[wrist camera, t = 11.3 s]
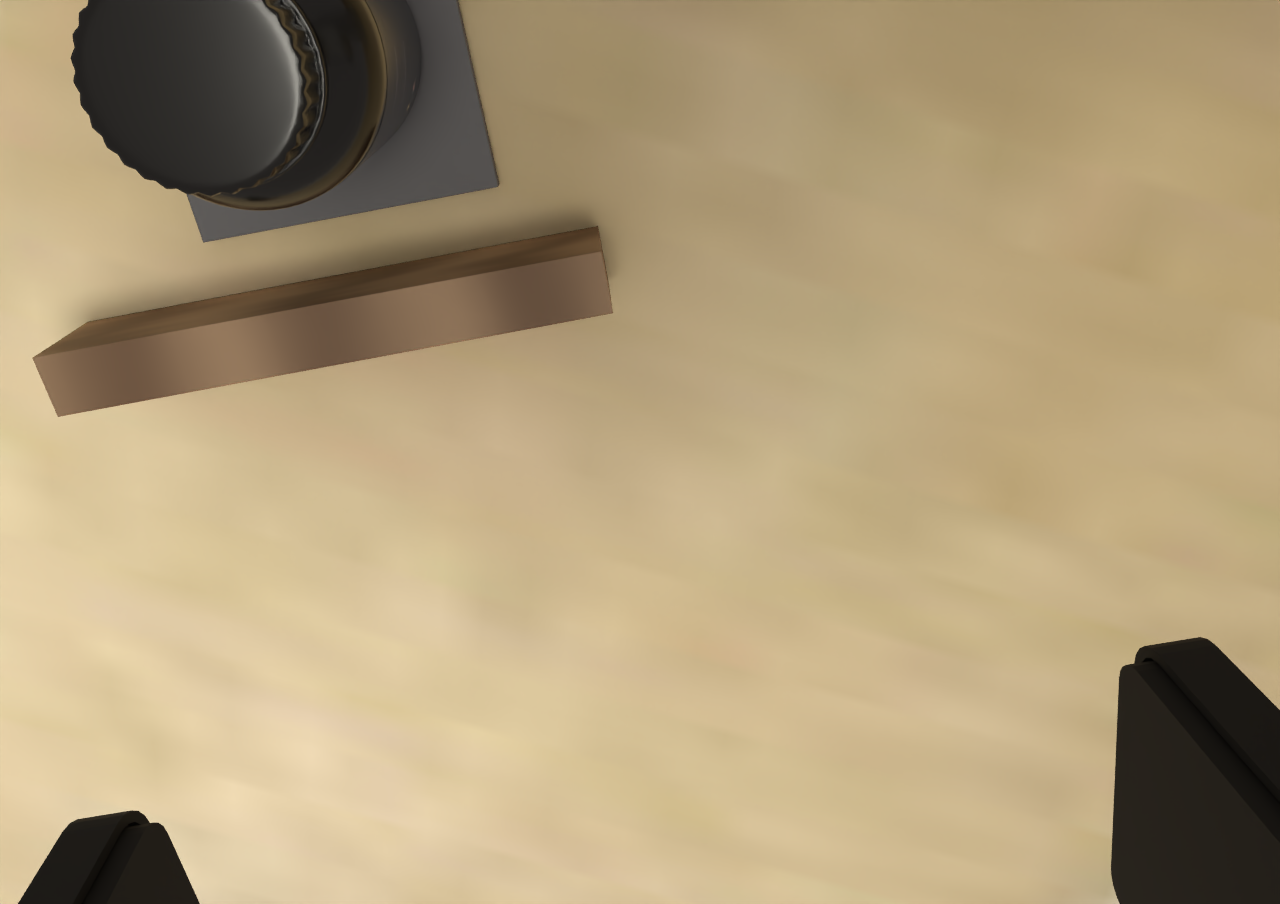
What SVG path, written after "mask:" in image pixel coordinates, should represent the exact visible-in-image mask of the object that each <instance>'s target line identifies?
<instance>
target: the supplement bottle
mask: <svg viewBox="0 0 1280 904" xmlns="http://www.w3.org/2000/svg"><path fill="white" fill-rule="evenodd" d="M73 42H74V46H75V48H74V50H73V53H72V56H71V61H72V64H73V66H74V69H75V75H74V84H75V86H76V88H77V89H78V91H79V92H80V102H81V106H82V107H83V109H84V110H85V111H86V112H87V114H88V115H89V116H90V122H91V125H92V128H93V129H94V130H95V131H96V132H98V133H99V134H100V135H101V136H102V137H103V139H104V142H105V144H106V146H107V148H108V149H110V150H111V151H113V152H115V153H116V154H118V155H119V157H120V159H121V161H122V162H123V163H124V165H126V166H128V167H130V168H133V169H136V170H137V171H138V173H139V174H140V175H141V176H142V177H143V178H144V179H148V180H154V181H157V182H158V183H159V184H160V185H162V186H163V187H165V188H166V189H175V188H176V189H179V190H181V191H182V192H184V193H186V194H188V195H193V196H196V197H198V198H200V199H203V200H205V201H208V202H211V203H214V204H217V205H220V206H225V207H229V208H234V209H242V210H253V211H267V210H278V209H284V208H289V207H293V206H296V205H300V204H303V203H305V202H308V201H310V200H313V199H315V198H317V197H319V196H321V195H323V194H325V193H326V192H328V191H330V190H331V189H333V188H334V187H336V186H337V185H339V184H340V183H341V182H342V181H344V180H345V179H346V178H347V177H348V176H350V175H351V174H352V173H353V172H354V171H355V170H356V169H357V168H359V167H360V166H361V165H362V164H363V163H364V162H365V161H366V160H368V159H369V158H370V157H371V156H372V155H373V154H374V153H375V152H377V151H378V150H379V149H380V148H381V147H382V146H383V145H384V144H386V142H387V141H388V140H389V139H390V138H391V137H392V136H393V135H394V134H395V133H396V132H397V131H398V129H399V128H400V127H401V125H402V124H403V123H404V121H405V119H406V118H407V116H408V114H409V112H410V110H411V108H412V106H413V104H414V101H415V98H416V95H417V92H418V88H419V84H420V77H421V67H422V54H421V44H420V38H419V33H418V29H417V25H416V22H415V19H414V16H413V14H412V11H411V9H410V6H409V4H408V3H407V1H406V0H88V6H87V7H86V8H84V9H82V10H81V11H80V12H79V26H78V28H77V29H76V30H75V31H74V33H73Z"/></svg>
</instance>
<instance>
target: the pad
mask: <svg viewBox="0 0 1280 904" xmlns="http://www.w3.org/2000/svg"><path fill="white" fill-rule="evenodd" d="M406 1H407V3H408V4H409V6H410V9H411V11H412V14H413V16H414V19H415V22H416V25H417V29H418V33H419V38H420V44H421V54H422V67H421V77H420V84H419V88H418V92H417V95H416V98H415V101H414V104H413V106H412V108H411V110H410V112H409V114H408V116H407V118H406V119H405V121H404V123H403V124H402V125H401V127H400V128H399V129H398V131H397V132H396V133H395V134H394V135H393V136H392V137H391V138H390V139H389V140H388V141H387V142H386V144H384V145H383V146H382V147H381V148H380V149H379V150H378V151H377V152H375V153H374V154H373V155H372V156H371V157H370V158H369V159H368V160H366V161H365V162H364V163H363V164H362V165H361V166H360V167H359V168H357V169H356V170H355V171H354V172H353V173H352V174H351V175H350V176H348V177H347V178H346V179H345V180H344V181H342V182H341V183H340V184H339V185H337V186H336V187H334V188H333V189H331V190H330V191H328V192H326V193H325V194H323V195H321V196H319V197H317V198H315V199H313V200H310V201H308V202H305V203H303V204H300V205H296V206H293V207H289V208H284V209H278V210H267V211H253V210H242V209H234V208H229V207H225V206H220V205H217V204H214V203H211V202H208V201H205V200H203V199H200V198H198V197H196V196H193V195H188V194H187V197H188V200H189V202H190V205H191V208H192V211H193V214H194V217H195V220H196V223H197V225H198V228H199V231H200V234H201V237H202V240H203V242H208V241H214V240H219V239H224V238H230V237H235V236H240V235H246V234H251V233H256V232H261V231H267V230H272V229H277V228H283V227H288V226H293V225H299V224H304V223H309V222H315V221H320V220H325V219H330V218H336V217H341V216H346V215H352V214H357V213H362V212H368V211H373V210H378V209H384V208H389V207H394V206H399V205H405V204H410V203H415V202H421V201H426V200H431V199H437V198H442V197H447V196H452V195H458V194H463V193H468V192H474V191H479V190H484V189H490V188H495V187H498V186H499V181H498V176H497V172H496V167H495V163H494V158H493V154H492V150H491V145H490V141H489V136H488V132H487V127H486V123H485V118H484V114H483V110H482V105H481V101H480V96H479V92H478V87H477V83H476V78H475V74H474V70H473V65H472V61H471V56H470V52H469V47H468V43H467V38H466V34H465V30H464V25H463V21H462V16H461V12H460V7H459V3H458V0H406Z"/></svg>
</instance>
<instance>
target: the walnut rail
mask: <svg viewBox="0 0 1280 904" xmlns="http://www.w3.org/2000/svg"><path fill="white" fill-rule="evenodd" d="M611 313H613V311H612V304H611V297H610V290H609V283H608V277H607V272H606V267H605V261H604V256H603V251H602V246H601V240H600V235H599V230H598V226H596V227H591V228H586V229H580V230H575V231H570V232H564V233H559V234H554V235H548V236H543V237H538V238H532V239H527V240H522V241H517V242H511V243H506V244H501V245H495V246H490V247H485V248H479V249H474V250H469V251H463V252H458V253H453V254H447V255H442V256H437V257H431V258H426V259H421V260H415V261H410V262H405V263H399V264H394V265H389V266H383V267H378V268H373V269H367V270H362V271H357V272H351V273H346V274H341V275H335V276H330V277H325V278H319V279H314V280H309V281H303V282H298V283H293V284H287V285H282V286H277V287H272V288H266V289H261V290H256V291H250V292H245V293H240V294H234V295H229V296H224V297H218V298H213V299H208V300H202V301H197V302H192V303H186V304H181V305H176V306H170V307H165V308H160V309H154V310H149V311H144V312H138V313H133V314H128V315H122V316H117V317H112V318H106V319H101V320H96V321H90V322H87V323H85V324H84V325H82V326H81V327H79V328H78V329H76V330H75V331H73V332H72V333H70V334H69V335H67V336H65V337H64V338H62V339H61V340H59V341H58V342H56V343H55V344H53V345H52V346H50V347H49V348H47V349H46V350H44V351H42V352H41V353H39V354H38V355H36V356H35V357H33V360H34V363H35V365H36V367H37V370H38V372H39V374H40V376H41V379H42V381H43V383H44V386H45V388H46V390H47V393H48V395H49V397H50V399H51V402H52V404H53V406H54V409H55V411H56V413H57V415H58V417H59V416H65V415H70V414H76V413H81V412H86V411H92V410H97V409H102V408H108V407H113V406H118V405H124V404H129V403H134V402H140V401H145V400H150V399H156V398H161V397H167V396H172V395H177V394H183V393H188V392H193V391H199V390H204V389H209V388H215V387H220V386H225V385H231V384H236V383H242V382H247V381H252V380H258V379H263V378H268V377H274V376H279V375H284V374H290V373H295V372H300V371H306V370H311V369H316V368H322V367H327V366H333V365H338V364H343V363H349V362H354V361H359V360H365V359H370V358H375V357H381V356H386V355H391V354H397V353H402V352H408V351H413V350H418V349H424V348H429V347H434V346H440V345H445V344H450V343H456V342H461V341H466V340H472V339H477V338H483V337H488V336H493V335H499V334H504V333H509V332H515V331H520V330H525V329H531V328H536V327H541V326H547V325H552V324H557V323H563V322H568V321H574V320H579V319H584V318H590V317H595V316H600V315H606V314H611Z"/></svg>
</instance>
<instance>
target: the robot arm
mask: <svg viewBox="0 0 1280 904" xmlns="http://www.w3.org/2000/svg"><path fill="white" fill-rule="evenodd" d="M1111 875H1112V881H1113V886H1114V889H1115V892H1116V896H1117V898H1118V901H1119V903H1120V904H1280V710H1279V709H1278V708H1277V707H1276V706H1275V705H1274V704H1273V703H1272V702H1271V701H1270V700H1269V699H1268V698H1267V697H1266V696H1265V695H1264V694H1263V693H1262V692H1261V691H1260V690H1259V689H1258V688H1257V687H1256V686H1255V685H1254V684H1253V683H1252V682H1251V681H1250V680H1249V679H1248V678H1247V677H1246V676H1245V675H1244V674H1243V673H1242V672H1241V671H1240V670H1239V668H1238V667H1237V666H1236V665H1235V664H1234V663H1233V662H1232V661H1231V660H1230V659H1229V658H1228V657H1227V656H1226V655H1225V654H1224V653H1223V652H1222V651H1221V650H1220V649H1219V648H1218V647H1217V646H1216V645H1215V644H1213V643H1212V642H1211V641H1209V640H1208V639H1205V638H1201V637H1198V638H1192V639H1186V640H1180V641H1174V642H1168V643H1161V644H1155V645H1149V646H1144V647H1142V648H1140V649H1139V650H1138V652H1137V654H1136V657H1135V663H1134V664H1129V665H1125V666H1123V667H1122V669H1121V671H1120V677H1119V695H1118V719H1117V742H1116V766H1115V789H1114V812H1113V836H1112V859H1111ZM18 904H200V903H199V901H198V899H197V897H196V895H195V892H194V890H193V888H192V886H191V884H190V881H189V879H188V877H187V875H186V873H185V870H184V868H183V866H182V864H181V861H180V859H179V857H178V855H177V853H176V850H175V848H174V846H173V844H172V842H171V839H170V837H169V835H168V833H167V831H166V830H165V828H164V826H162V825H161V824H159V823H149V821H148V820H147V818H146V816H145V815H143V814H142V813H140V812H139V811H126V812H120V813H114V814H108V815H101V816H95V817H89V818H83V819H77V820H75V821H74V822H72V823H70V824H69V825H68V826H67V827H66V828H65V830H64V831H63V832H62V834H61V835H60V837H59V838H58V840H57V842H56V843H55V845H54V846H53V848H52V850H51V851H50V853H49V855H48V856H47V858H46V859H45V861H44V863H43V864H42V866H41V867H40V869H39V871H38V872H37V874H36V875H35V877H34V879H33V880H32V882H31V884H30V885H29V887H28V888H27V890H26V892H25V893H24V895H23V896H22V898H21V900H20V901H19V903H18Z"/></svg>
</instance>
